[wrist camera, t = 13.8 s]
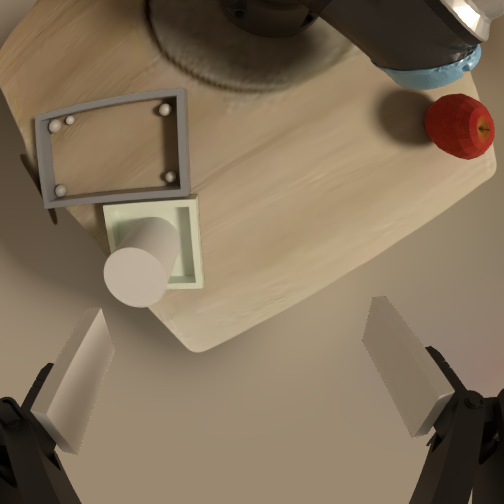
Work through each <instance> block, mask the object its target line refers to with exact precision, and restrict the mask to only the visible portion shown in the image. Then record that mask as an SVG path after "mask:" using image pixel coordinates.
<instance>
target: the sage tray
mask: <svg viewBox="0 0 504 504" xmlns="http://www.w3.org/2000/svg"><path fill="white" fill-rule="evenodd" d="M103 210H104V217H105V223H106V229H107V235H108V241H109V246H110V251H111V254H112V253H113V251H114V250H115V249H116V248H117V247H118V245H119V244H120V243H121V242H122V240H123V239H124V238H125V237H126V236H127V234H128V233H129V232H130V231H131V230H132V228H133V227H134V226H135V225H136V224H137V223H138V222H139V221H140V220H142V219H144V218H147V217H160V218H163V219H165V220H167V221H169V222H170V223H171V224H172V225H173V226H174V227H175V228H176V230H177V231H178V233H179V236H180V243H181V244H180V250H179V253H178V256H177V258H176V261H175V264H174V267H173V270H172V273H171V276H170V279H169V282H168V285H167V288H166V289H197V288H203V284H204V271H203V259H202V247H201V234H200V220H199V204H198V194H196V195H189V196H182V197H165V198H150V199H137V200H125V201H113V202H107V203H106V204H105V205H103Z"/></svg>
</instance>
